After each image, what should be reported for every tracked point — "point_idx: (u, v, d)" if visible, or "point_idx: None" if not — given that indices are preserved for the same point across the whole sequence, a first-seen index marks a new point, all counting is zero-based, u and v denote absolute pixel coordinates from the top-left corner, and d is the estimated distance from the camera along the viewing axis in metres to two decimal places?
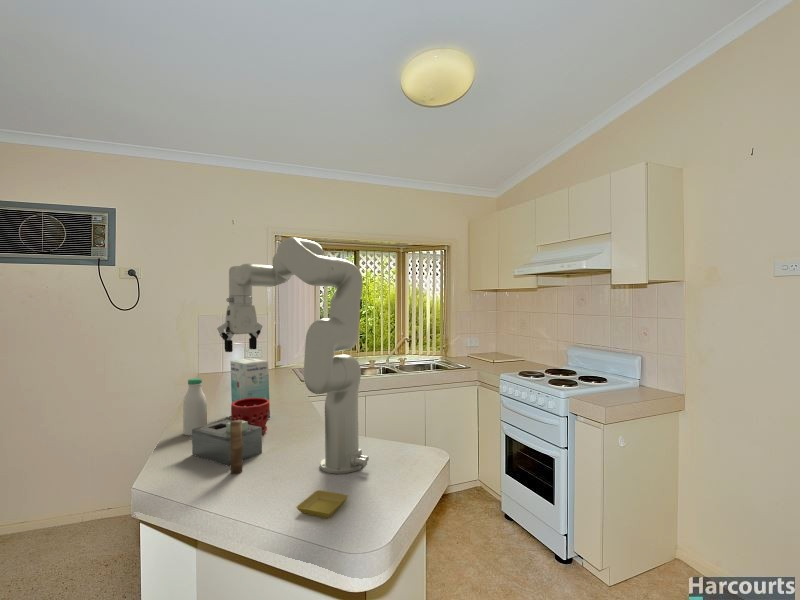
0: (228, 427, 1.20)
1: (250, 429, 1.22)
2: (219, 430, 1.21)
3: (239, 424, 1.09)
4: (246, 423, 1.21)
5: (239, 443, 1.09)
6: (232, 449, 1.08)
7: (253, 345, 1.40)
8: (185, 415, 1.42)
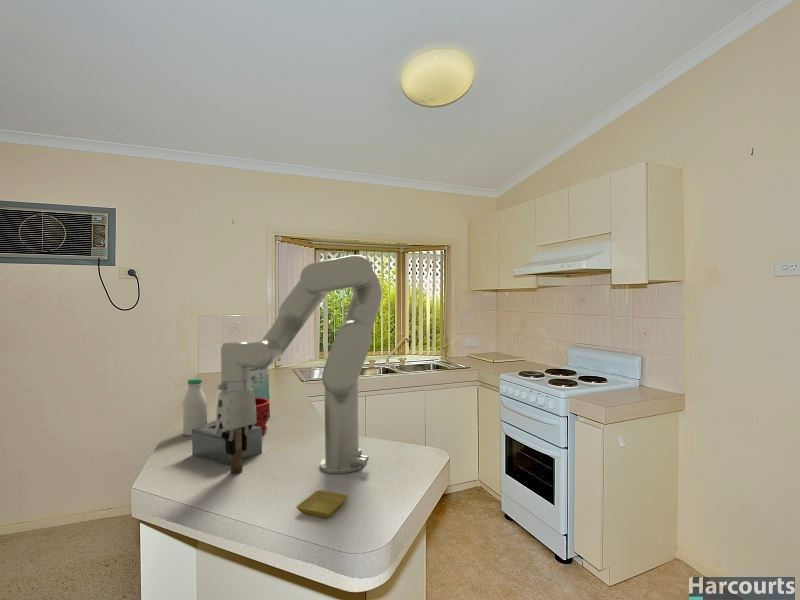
0: None
1: (250, 429, 1.22)
2: None
3: None
4: None
5: (239, 443, 1.09)
6: None
7: (242, 446, 1.10)
8: (185, 415, 1.42)
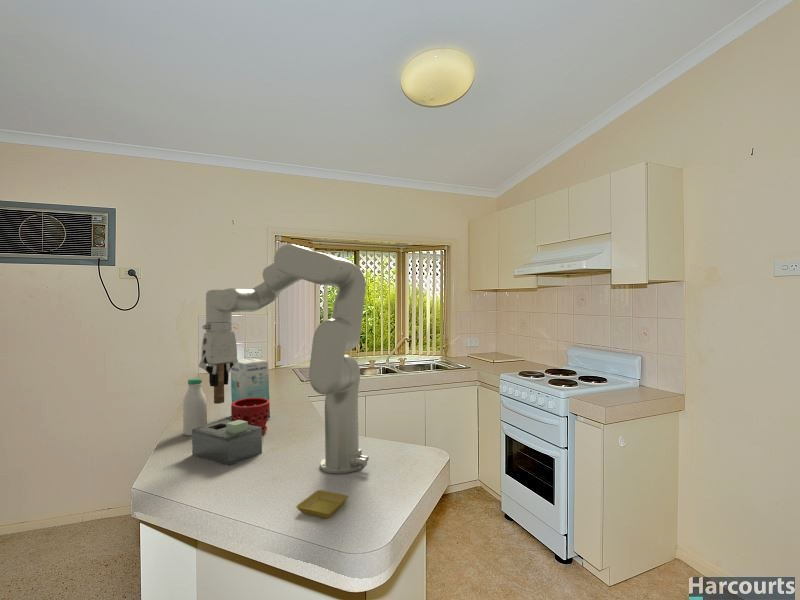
0: (228, 427, 1.20)
1: (250, 429, 1.22)
2: (219, 430, 1.21)
3: None
4: (246, 423, 1.21)
5: (221, 377, 1.25)
6: None
7: (224, 380, 1.27)
8: (185, 415, 1.42)
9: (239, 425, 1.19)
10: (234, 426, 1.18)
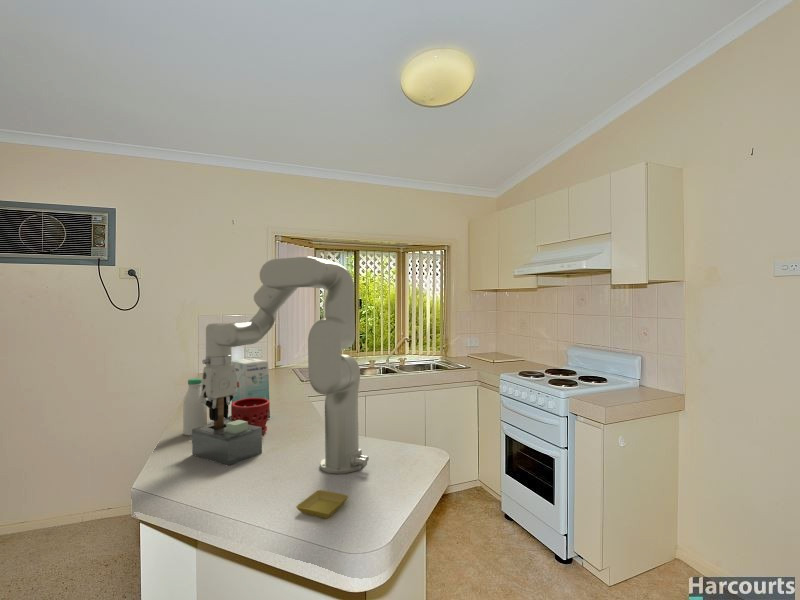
0: (228, 427, 1.20)
1: (250, 429, 1.22)
2: (219, 430, 1.21)
3: None
4: (246, 423, 1.21)
5: (221, 411, 1.25)
6: None
7: (224, 413, 1.27)
8: (185, 415, 1.42)
9: (239, 425, 1.19)
10: (234, 426, 1.18)
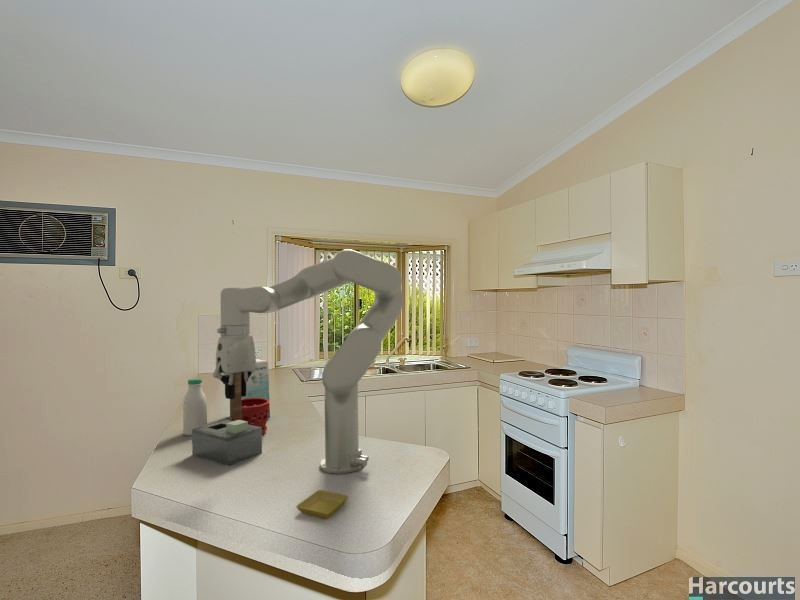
0: (228, 427, 1.20)
1: (250, 429, 1.22)
2: (219, 430, 1.21)
3: None
4: (246, 423, 1.21)
5: (238, 388, 1.09)
6: None
7: (242, 391, 1.10)
8: (185, 415, 1.42)
9: (239, 425, 1.19)
10: (234, 426, 1.18)
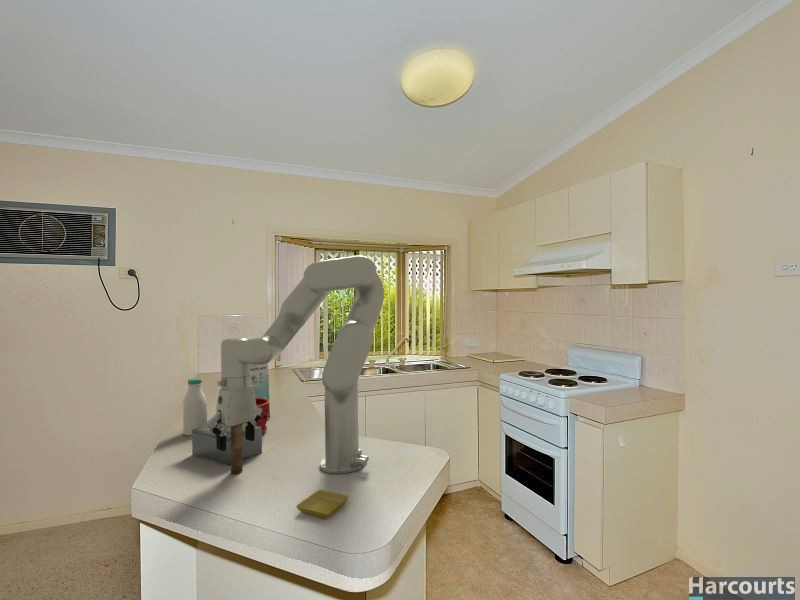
0: (228, 427, 1.20)
1: None
2: None
3: (240, 424, 1.09)
4: (246, 423, 1.21)
5: (239, 443, 1.09)
6: (232, 449, 1.08)
7: (250, 436, 1.12)
8: (185, 415, 1.42)
9: None
10: None
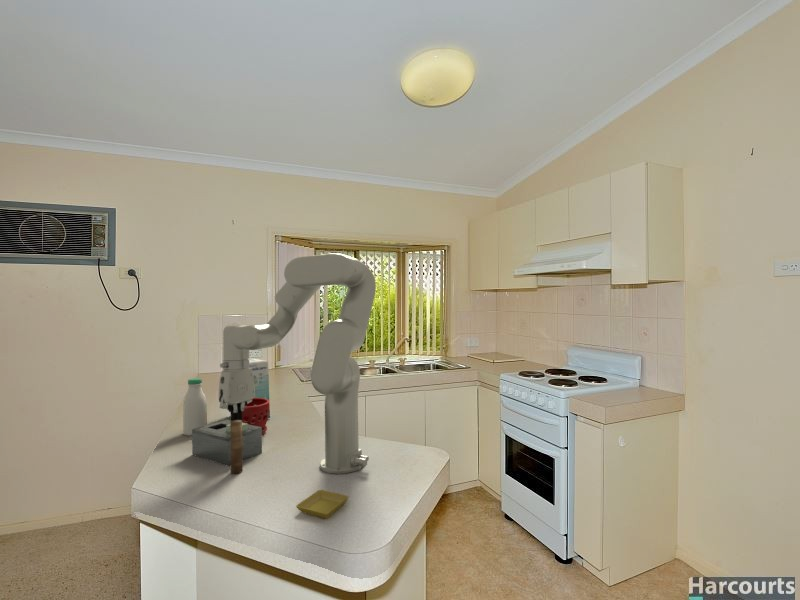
0: (228, 429, 1.20)
1: (250, 429, 1.22)
2: (219, 430, 1.21)
3: (240, 424, 1.09)
4: (246, 425, 1.21)
5: (239, 443, 1.09)
6: (232, 449, 1.08)
7: None
8: (185, 415, 1.42)
9: None
10: None
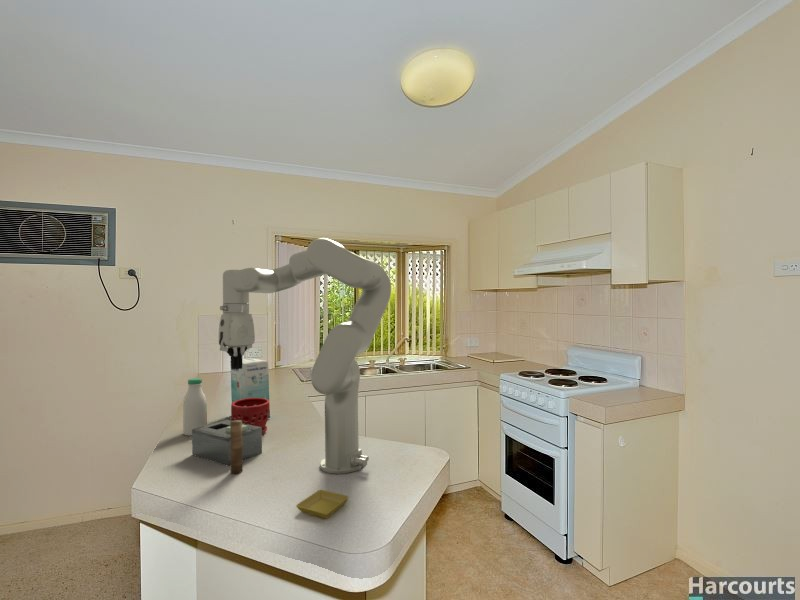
0: (228, 431, 1.20)
1: (250, 429, 1.22)
2: (219, 430, 1.21)
3: (240, 424, 1.09)
4: (246, 427, 1.21)
5: (239, 443, 1.09)
6: (232, 449, 1.08)
7: None
8: (185, 415, 1.42)
9: None
10: None
